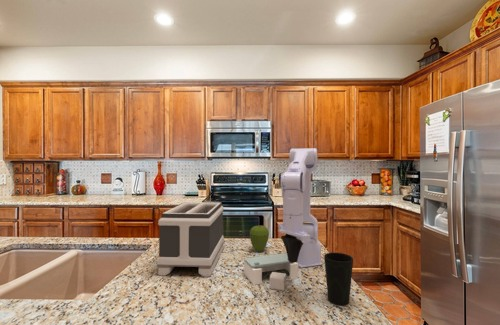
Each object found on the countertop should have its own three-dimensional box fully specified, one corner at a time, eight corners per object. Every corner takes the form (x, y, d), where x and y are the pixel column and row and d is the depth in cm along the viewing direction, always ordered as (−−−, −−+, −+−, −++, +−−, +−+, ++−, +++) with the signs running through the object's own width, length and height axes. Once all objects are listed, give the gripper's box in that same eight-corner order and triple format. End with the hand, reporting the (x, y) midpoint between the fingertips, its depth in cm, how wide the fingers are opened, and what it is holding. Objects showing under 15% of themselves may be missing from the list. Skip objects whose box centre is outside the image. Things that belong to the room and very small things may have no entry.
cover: (285, 254, 95) (285, 252, 95) (295, 261, 88) (295, 258, 88) (244, 259, 90) (244, 257, 90) (251, 267, 83) (251, 264, 83)
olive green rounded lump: (258, 246, 120) (258, 221, 120) (272, 250, 114) (273, 224, 114) (245, 251, 113) (245, 224, 114) (259, 255, 108) (259, 227, 108)
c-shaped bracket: (285, 267, 95) (285, 255, 95) (298, 277, 87) (298, 263, 87) (244, 273, 90) (244, 260, 90) (253, 285, 81) (253, 270, 81)
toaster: (225, 246, 121) (225, 200, 121) (210, 278, 86) (211, 214, 87) (186, 245, 121) (186, 200, 122) (156, 276, 87) (156, 214, 87)
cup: (350, 310, 67) (350, 264, 67) (320, 302, 71) (320, 258, 71) (355, 298, 73) (355, 255, 74) (328, 291, 77) (328, 250, 78)
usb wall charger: (272, 283, 82) (272, 271, 82) (294, 287, 80) (294, 274, 80) (269, 289, 78) (269, 276, 79) (292, 293, 76) (292, 279, 76)
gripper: (269, 210, 80) (269, 254, 79) (293, 219, 66) (293, 273, 66) (290, 209, 82) (290, 252, 82) (316, 217, 68) (316, 269, 68)
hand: (292, 261), depth 74 cm, fingers closed
